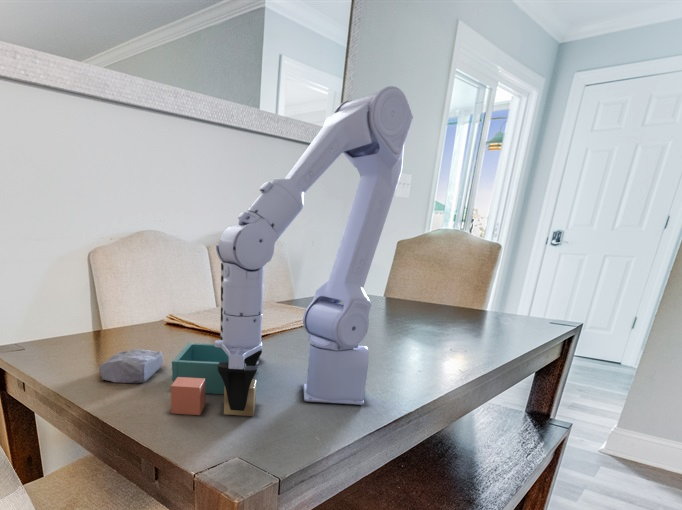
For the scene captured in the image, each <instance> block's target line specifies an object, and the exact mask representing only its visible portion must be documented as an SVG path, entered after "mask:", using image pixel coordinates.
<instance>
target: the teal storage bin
mask: <svg viewBox="0 0 682 510" xmlns="http://www.w3.org/2000/svg"><path fill="white" fill-rule="evenodd" d="M219 362H227V363H229V357H228V355H227V354H226V353H225V352H224V350H223V349H222V348H218V347H215V343H196V342H195V343H194V342H187V344H186V345H185V346H184V347H183V348H182V349H181V350H180V352H179V353H178V354H177V355H176V356H175V357H174V358H173V360H172V361H171V377H172V378H171V379H172V380H171V381H172V382H171V384H173V382H174V381H175V380H176V378H177V377H188V378H205V394H211V395H212V394H215V395H224V387H225V384H224V382H223V379H222V377H221V375H220V374H219V372H218V364H219Z"/></svg>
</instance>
